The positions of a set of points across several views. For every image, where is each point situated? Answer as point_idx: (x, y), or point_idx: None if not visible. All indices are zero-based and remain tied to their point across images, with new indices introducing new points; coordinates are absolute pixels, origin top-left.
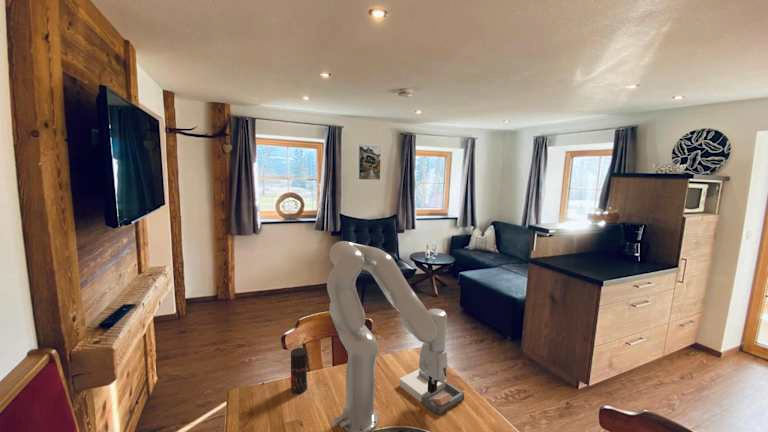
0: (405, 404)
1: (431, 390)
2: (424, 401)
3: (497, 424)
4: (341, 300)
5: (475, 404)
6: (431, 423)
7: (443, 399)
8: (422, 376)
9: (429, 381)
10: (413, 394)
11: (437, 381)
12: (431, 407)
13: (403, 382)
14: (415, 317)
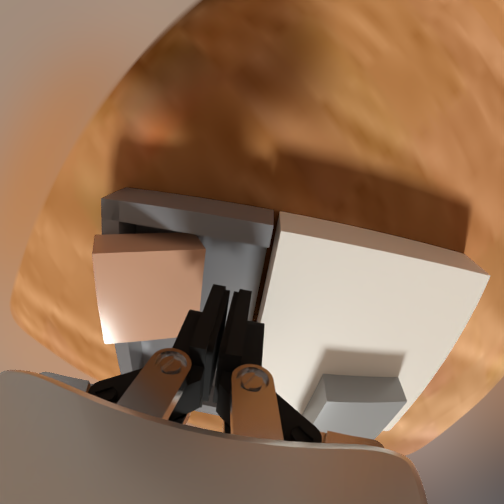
0: (352, 119)
1: (207, 303)
2: (244, 212)
3: (11, 309)
4: None
5: (95, 362)
6: (116, 104)
7: (95, 277)
8: (371, 384)
9: (228, 363)
10: (359, 231)
11: (103, 383)
12: (173, 199)
13: (460, 266)
14: None
